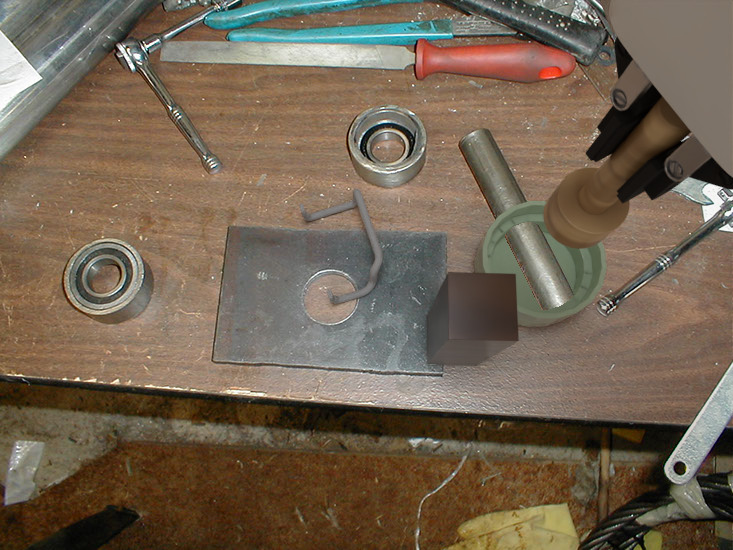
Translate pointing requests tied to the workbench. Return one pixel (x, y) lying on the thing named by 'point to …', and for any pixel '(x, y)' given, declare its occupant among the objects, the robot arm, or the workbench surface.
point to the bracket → (372, 236)
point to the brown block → (472, 318)
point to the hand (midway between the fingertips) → (627, 165)
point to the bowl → (577, 264)
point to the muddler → (609, 182)
